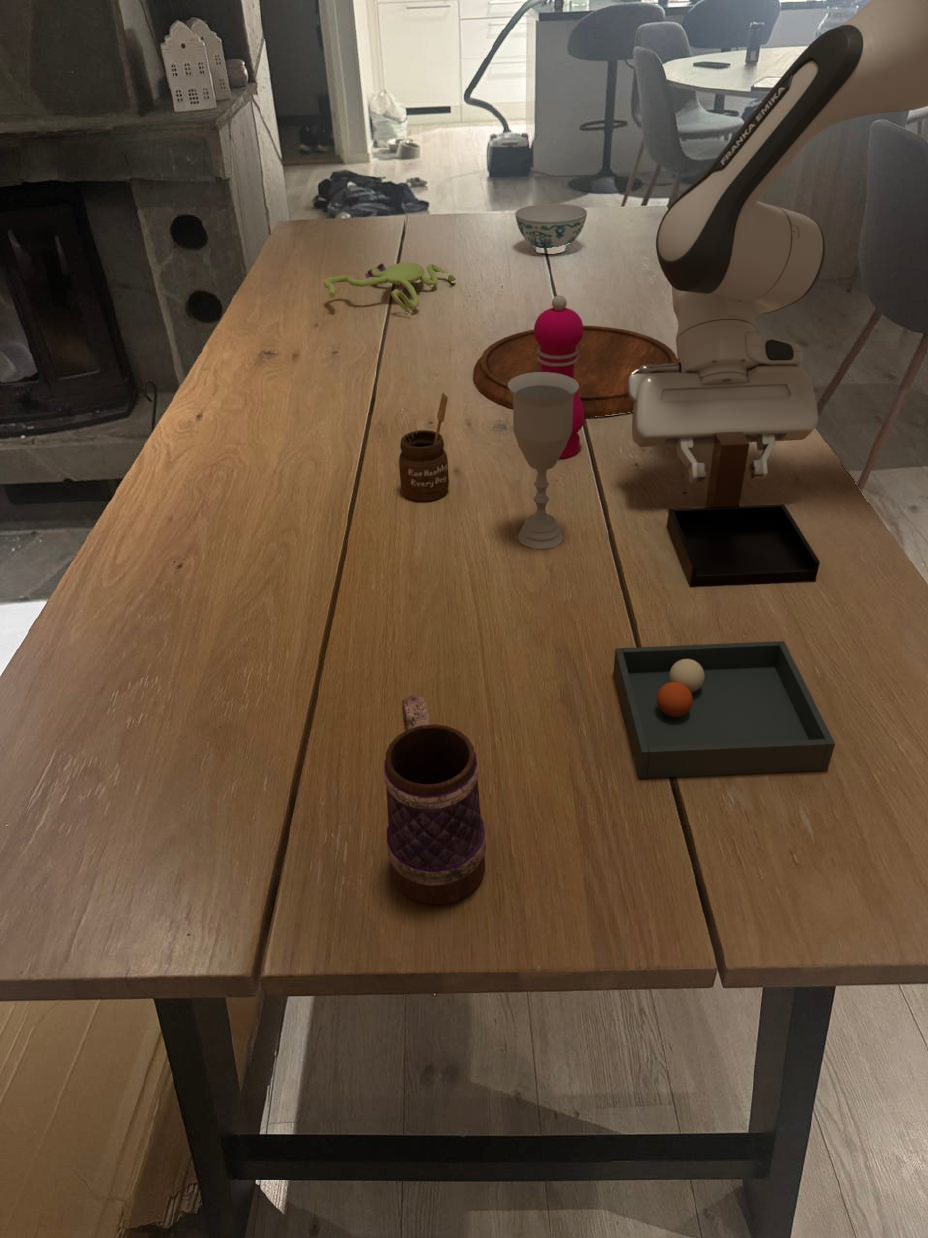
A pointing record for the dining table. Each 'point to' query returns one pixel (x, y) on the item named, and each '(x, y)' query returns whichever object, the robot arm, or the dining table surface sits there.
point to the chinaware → (550, 224)
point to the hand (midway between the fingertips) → (728, 479)
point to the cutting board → (575, 366)
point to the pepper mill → (561, 355)
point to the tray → (722, 712)
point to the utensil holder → (424, 461)
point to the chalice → (542, 441)
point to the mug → (433, 809)
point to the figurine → (393, 280)
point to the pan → (738, 530)
